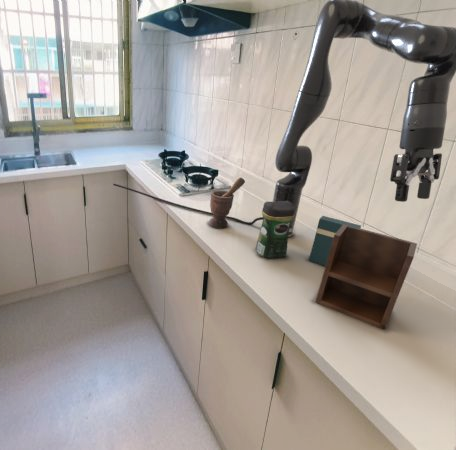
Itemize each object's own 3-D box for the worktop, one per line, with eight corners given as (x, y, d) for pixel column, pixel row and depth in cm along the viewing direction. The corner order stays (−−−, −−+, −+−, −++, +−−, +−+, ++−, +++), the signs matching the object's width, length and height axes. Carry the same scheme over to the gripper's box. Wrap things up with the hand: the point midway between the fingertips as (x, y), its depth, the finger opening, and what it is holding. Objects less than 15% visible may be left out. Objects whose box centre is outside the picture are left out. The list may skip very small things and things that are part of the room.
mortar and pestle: (231, 219, 140) (237, 172, 132) (240, 228, 132) (247, 179, 124) (204, 221, 138) (210, 173, 130) (212, 229, 130) (218, 179, 122)
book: (308, 260, 111) (319, 218, 105) (311, 256, 113) (322, 215, 107) (345, 273, 104) (359, 229, 98) (348, 268, 107) (361, 225, 101)
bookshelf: (315, 302, 90) (334, 234, 82) (324, 287, 96) (343, 224, 88) (384, 329, 81) (413, 257, 73) (389, 312, 87) (417, 243, 79)
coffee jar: (277, 247, 119) (287, 197, 111) (289, 258, 112) (301, 205, 104) (251, 248, 117) (260, 198, 109) (262, 260, 110) (272, 206, 102)
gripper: (422, 128, 81) (412, 196, 84) (385, 127, 75) (375, 200, 78) (461, 126, 74) (448, 199, 77) (423, 124, 68) (411, 204, 72)
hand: (411, 199), depth 78 cm, fingers open, 8 cm apart
